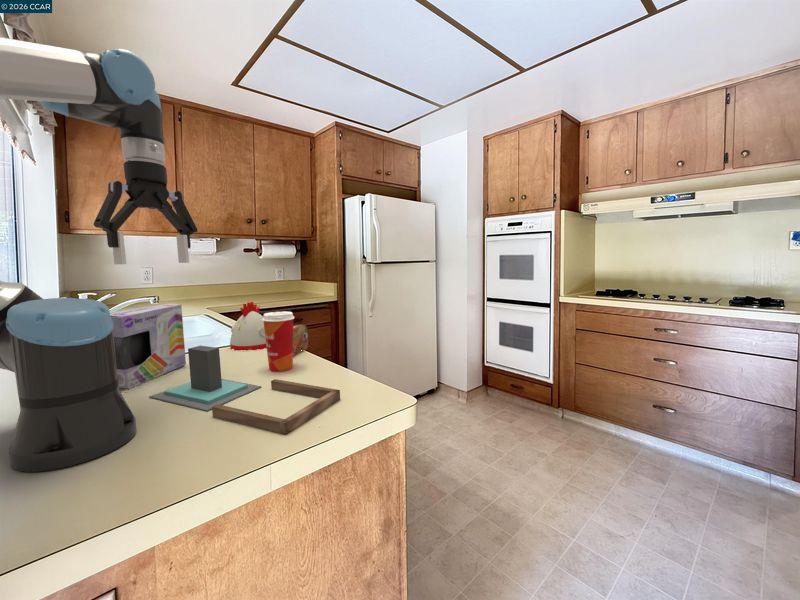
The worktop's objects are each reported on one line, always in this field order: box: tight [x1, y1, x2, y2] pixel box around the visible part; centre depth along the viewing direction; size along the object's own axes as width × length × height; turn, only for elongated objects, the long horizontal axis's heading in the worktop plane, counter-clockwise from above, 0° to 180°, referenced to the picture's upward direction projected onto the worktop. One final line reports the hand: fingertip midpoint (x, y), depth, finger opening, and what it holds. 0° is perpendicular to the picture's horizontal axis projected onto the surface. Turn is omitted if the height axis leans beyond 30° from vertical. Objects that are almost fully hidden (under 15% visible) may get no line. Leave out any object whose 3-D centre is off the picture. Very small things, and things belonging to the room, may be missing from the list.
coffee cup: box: [262, 311, 295, 373], centre depth 96 cm, size 8×8×15 cm
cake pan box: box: [110, 303, 187, 390], centre depth 91 cm, size 19×5×18 cm, turn 170°
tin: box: [293, 324, 310, 358], centre depth 112 cm, size 15×3×8 cm, turn 168°
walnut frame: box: [211, 378, 341, 435], centre depth 72 cm, size 16×18×2 cm
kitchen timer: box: [229, 301, 267, 351], centre depth 122 cm, size 14×14×15 cm
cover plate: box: [163, 345, 248, 405], centre depth 80 cm, size 10×14×10 cm
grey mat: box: [149, 378, 262, 412], centre depth 80 cm, size 14×18×1 cm
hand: (154, 263), depth 80 cm, fingers open, 13 cm apart
